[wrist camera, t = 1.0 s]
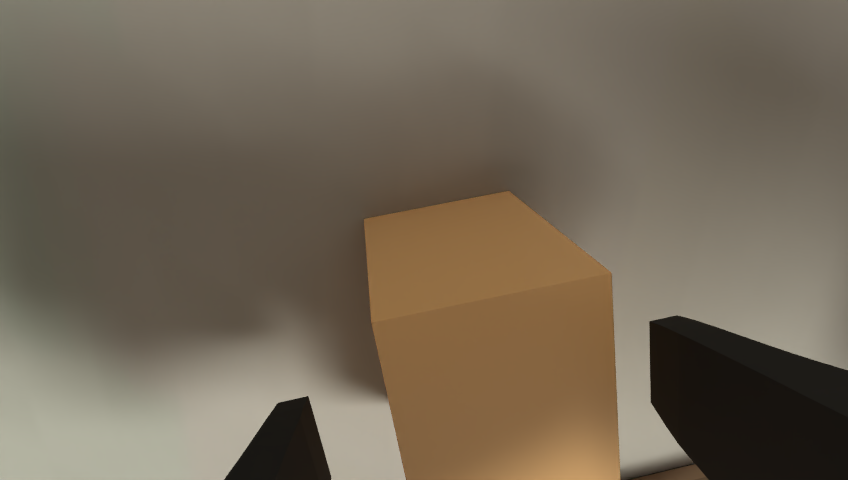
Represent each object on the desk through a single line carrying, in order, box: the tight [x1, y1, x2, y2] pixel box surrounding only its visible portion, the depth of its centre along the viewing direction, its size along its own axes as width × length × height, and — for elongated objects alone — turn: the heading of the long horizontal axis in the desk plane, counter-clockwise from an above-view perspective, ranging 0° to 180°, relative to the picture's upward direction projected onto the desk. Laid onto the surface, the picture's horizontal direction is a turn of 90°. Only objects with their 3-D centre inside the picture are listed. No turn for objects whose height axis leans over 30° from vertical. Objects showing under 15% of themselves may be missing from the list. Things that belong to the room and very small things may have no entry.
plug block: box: [364, 191, 620, 480], centre depth 12 cm, size 4×6×6 cm, turn 9°
